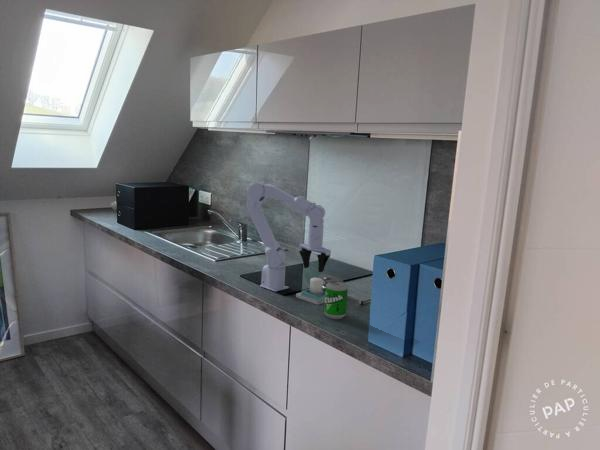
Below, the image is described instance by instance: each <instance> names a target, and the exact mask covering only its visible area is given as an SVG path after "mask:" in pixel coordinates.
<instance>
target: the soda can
mask: <svg viewBox="0 0 600 450" xmlns="http://www.w3.org/2000/svg"><path fill="white" fill-rule="evenodd" d="M348 288H349V286H348V285H347V283H346V282H345V281H343V282H342V281H336V280H334V281H329V282H328V283H327V284H326V291H325V303H324V309H323V314H324V315H325V316H326V317H327V318H328V319H332V320H342V319H343V318H344V317H346V315H347V304H348V303H347V302H348Z"/></svg>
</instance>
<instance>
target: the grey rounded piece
mask: <svg viewBox="0 0 600 450" xmlns="http://www.w3.org/2000/svg"><path fill="white" fill-rule="evenodd" d="M309 280H310V281H309V289H310V292H309V293H312V294H315V295H320V294H322V292H323V285H325V281H323V279H321V278H318V277H311V278H310V279H309Z"/></svg>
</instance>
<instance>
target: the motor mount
mask: <svg viewBox="0 0 600 450" xmlns="http://www.w3.org/2000/svg"><path fill="white" fill-rule="evenodd" d="M317 278H321V279H323V281H325V285H323V292H322V294H320V295H315V294H312V293H309V292H310V288H307V289H304V290H303V289H302V290H301V292H298V293H296V294H295V298H297V299H299V300H303V301H305V302H308V303H311V304H314V305H321V304H325V291H326V284H327V283H328V282H329V281H334V280H336V281H342V282H344V281H343V279H342V278H339V277H336V276H333V275H330V274H329V275H328V274H327V273H326V274H325V273H321V274H319V275H318V277H317Z"/></svg>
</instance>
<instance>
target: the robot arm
mask: <svg viewBox="0 0 600 450" xmlns="http://www.w3.org/2000/svg"><path fill="white" fill-rule="evenodd" d="M245 192H246V210H247V212H248V214H249V216H250V218H251V220H252V222H253V225H254V227H255V229H256V231H257V233H258V235H259V238H260V239H261V242H262V244H263V246H264V253H265V256H266V263H267V264H265V265H264V266H263V267H262V269H261V280H260V281H261V282H260V283H261V284H260V285H259V287H261V288H263V289H267V290H269V291H272V292H279V291H283V290H287V289H289V288H290V286H286V285H285V282H286V281H285V279H286V264H285V262H286V260H288V259H287V258H288V254H287V252H286V251H285V250H284V249H283V248H282V246H281V244H280V243H279V242H277V239H276V237H275V236H274V234H273V231H272V229H271V227H270V225H269V223H268V221H267V218H266V216H265V214H264V212H263V210H262V207H261V206H262V204H263V201H264V200H265V198H267V197H268V198H269V197H274V198H275V199H279V200H280V201H282V202H285V203H287V204H289V205H290V206H291V208H292V210H294V211H295V212H298V213H300V214H302V215H303V216H306V217H308V218H309V224H308V235H307V236H308V237H307V238H308V239H307V244H306V243H299V254H300V257H301V259H302V263H303V268H305V269H307V268H309V267H310V260H311V255H312V252H314V253H318V254H317V255H316V256H317V261H318V268H317V269H318V272H319V273H323V272H324V270H325V267H326V265H327V262H328V260H329V259H330V258H331V253H332V250H331V249H328V248H326V247H324V246H323V240H324V227H325V226H324V222H325V221H324V218H325V215H326V210H325V208H324V207H323V206H322V205H320V204H316V202H312V201H310V200H308V199H306V197H305V196H303V195H302V196H300V195H299V196H296V197H295V196H293V195H291V194H289V193H288V192H286V191H284V190H283V189H281V188H279V187H278V186H275V185H273V184H271V183H268V182H266V181H262V180H260V181H258V182H252V183H251V184H250V185H249V186H248V188H247V190H246V191H245Z"/></svg>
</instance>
